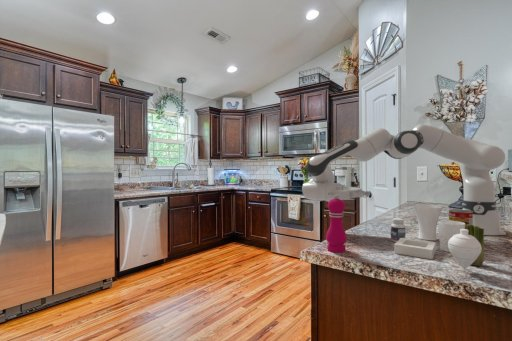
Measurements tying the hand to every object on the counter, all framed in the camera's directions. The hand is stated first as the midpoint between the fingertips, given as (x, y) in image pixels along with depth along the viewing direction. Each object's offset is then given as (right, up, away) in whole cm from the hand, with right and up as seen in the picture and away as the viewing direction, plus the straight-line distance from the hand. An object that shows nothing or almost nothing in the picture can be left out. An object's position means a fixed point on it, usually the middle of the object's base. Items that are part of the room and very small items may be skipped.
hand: (366, 194), depth 122 cm
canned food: (+35, -18, -7) cm, 40 cm away
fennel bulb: (+19, -19, -35) cm, 44 cm away
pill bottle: (+10, -18, -7) cm, 22 cm away
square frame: (+8, -18, -22) cm, 30 cm away
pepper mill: (-18, -18, -20) cm, 33 cm away
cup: (+24, -18, -4) cm, 30 cm away
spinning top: (+12, -19, -41) cm, 47 cm away
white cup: (+22, -18, -21) cm, 35 cm away
